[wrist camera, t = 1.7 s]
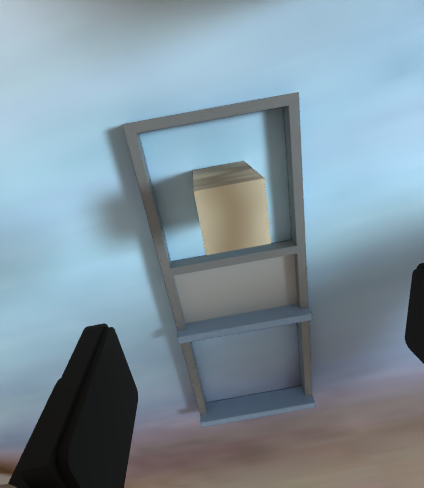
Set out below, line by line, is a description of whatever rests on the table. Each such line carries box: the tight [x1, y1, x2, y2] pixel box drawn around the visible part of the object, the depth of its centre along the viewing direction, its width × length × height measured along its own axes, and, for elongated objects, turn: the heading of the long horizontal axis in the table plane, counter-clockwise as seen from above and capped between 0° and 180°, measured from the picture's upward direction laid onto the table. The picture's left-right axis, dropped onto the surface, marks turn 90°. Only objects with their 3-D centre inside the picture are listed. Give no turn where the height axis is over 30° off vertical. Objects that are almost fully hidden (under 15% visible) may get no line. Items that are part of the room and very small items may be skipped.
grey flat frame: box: [123, 92, 316, 427], centre depth 30 cm, size 14×34×2 cm, turn 9°
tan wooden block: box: [193, 161, 271, 255], centre depth 23 cm, size 4×4×8 cm
